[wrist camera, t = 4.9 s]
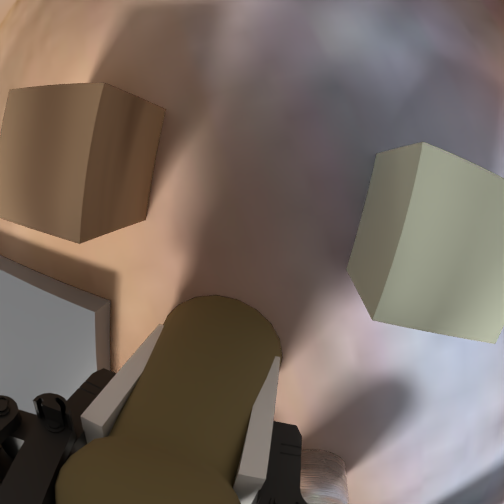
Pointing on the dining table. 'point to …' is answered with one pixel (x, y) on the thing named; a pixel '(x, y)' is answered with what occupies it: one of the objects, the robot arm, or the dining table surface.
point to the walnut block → (77, 159)
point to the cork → (181, 413)
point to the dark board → (48, 335)
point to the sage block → (432, 244)
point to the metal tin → (323, 478)
